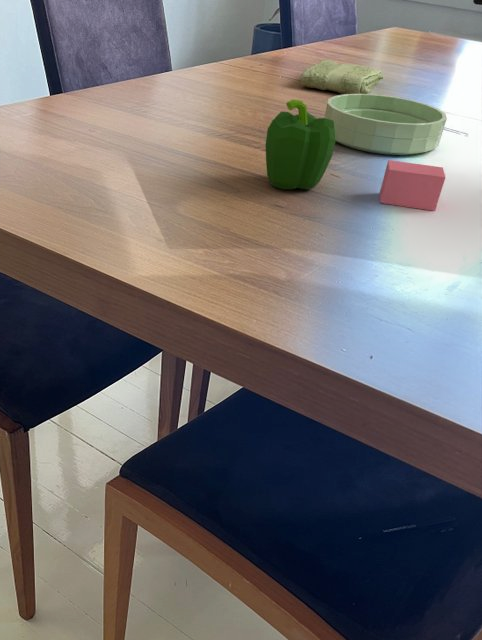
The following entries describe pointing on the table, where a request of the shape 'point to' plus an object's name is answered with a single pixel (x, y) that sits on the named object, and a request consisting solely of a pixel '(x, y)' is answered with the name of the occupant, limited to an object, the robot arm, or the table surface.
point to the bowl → (385, 123)
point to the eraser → (412, 185)
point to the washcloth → (341, 77)
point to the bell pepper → (298, 148)
